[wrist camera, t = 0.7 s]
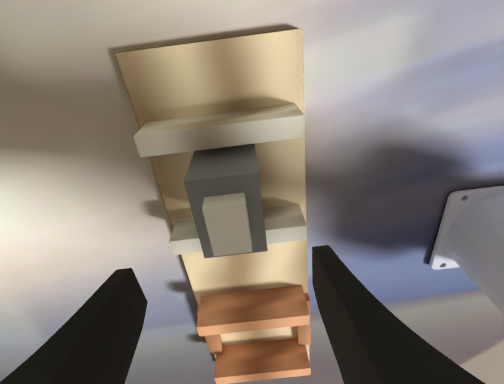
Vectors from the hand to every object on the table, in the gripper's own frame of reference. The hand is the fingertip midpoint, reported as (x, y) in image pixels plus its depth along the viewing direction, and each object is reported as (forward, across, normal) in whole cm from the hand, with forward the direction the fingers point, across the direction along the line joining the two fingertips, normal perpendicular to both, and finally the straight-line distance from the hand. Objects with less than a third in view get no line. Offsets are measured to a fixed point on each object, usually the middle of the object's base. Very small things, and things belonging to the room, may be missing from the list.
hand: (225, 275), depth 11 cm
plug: (+9, 0, 0) cm, 9 cm away
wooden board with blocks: (+10, 0, +8) cm, 13 cm away
